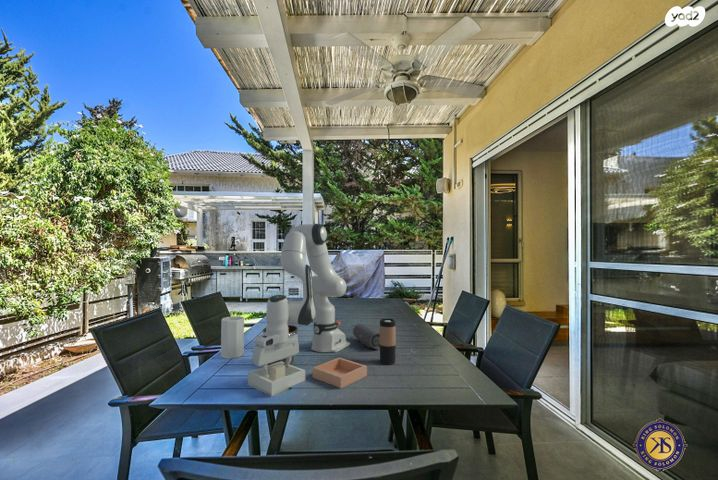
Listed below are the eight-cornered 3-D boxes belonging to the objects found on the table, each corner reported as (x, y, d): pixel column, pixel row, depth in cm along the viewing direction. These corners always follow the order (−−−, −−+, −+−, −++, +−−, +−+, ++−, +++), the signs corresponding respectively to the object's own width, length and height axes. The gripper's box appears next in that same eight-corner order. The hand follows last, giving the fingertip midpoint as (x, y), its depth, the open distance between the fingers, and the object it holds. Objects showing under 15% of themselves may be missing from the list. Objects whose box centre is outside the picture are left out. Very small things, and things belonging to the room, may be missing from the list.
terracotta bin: (339, 368, 146) (339, 357, 146) (366, 377, 136) (366, 365, 136) (312, 379, 133) (312, 367, 134) (340, 390, 123) (341, 377, 123)
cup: (247, 352, 168) (248, 316, 168) (237, 359, 157) (238, 321, 157) (227, 351, 169) (228, 315, 170) (216, 358, 158) (216, 320, 158)
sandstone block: (278, 377, 133) (278, 363, 133) (285, 380, 130) (285, 365, 130) (268, 381, 129) (269, 366, 129) (275, 384, 126) (275, 369, 126)
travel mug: (376, 363, 153) (377, 320, 153) (383, 358, 159) (383, 317, 160) (392, 366, 149) (392, 322, 149) (397, 361, 156) (398, 319, 156)
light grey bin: (281, 372, 141) (281, 361, 141) (305, 382, 130) (305, 370, 131) (247, 384, 128) (248, 372, 128) (271, 396, 118) (271, 383, 118)
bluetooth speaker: (351, 340, 189) (352, 323, 190) (366, 338, 193) (366, 322, 194) (369, 352, 169) (369, 333, 169) (384, 349, 173) (384, 331, 173)
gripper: (292, 329, 140) (292, 362, 140) (250, 340, 124) (250, 376, 124) (302, 332, 136) (302, 365, 136) (259, 343, 120) (259, 381, 120)
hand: (276, 370), depth 130 cm, fingers open, 8 cm apart
